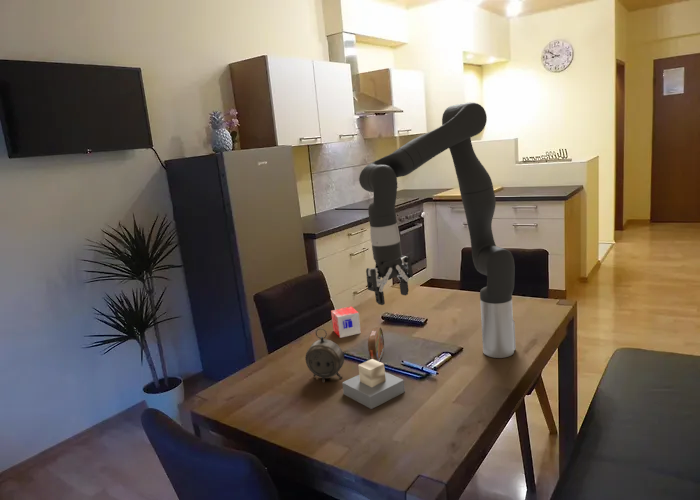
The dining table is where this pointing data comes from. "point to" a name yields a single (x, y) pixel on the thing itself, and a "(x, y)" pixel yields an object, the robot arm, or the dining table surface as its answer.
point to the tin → (375, 343)
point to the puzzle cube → (345, 321)
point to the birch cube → (372, 372)
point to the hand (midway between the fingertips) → (393, 299)
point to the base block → (373, 390)
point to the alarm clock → (324, 358)
